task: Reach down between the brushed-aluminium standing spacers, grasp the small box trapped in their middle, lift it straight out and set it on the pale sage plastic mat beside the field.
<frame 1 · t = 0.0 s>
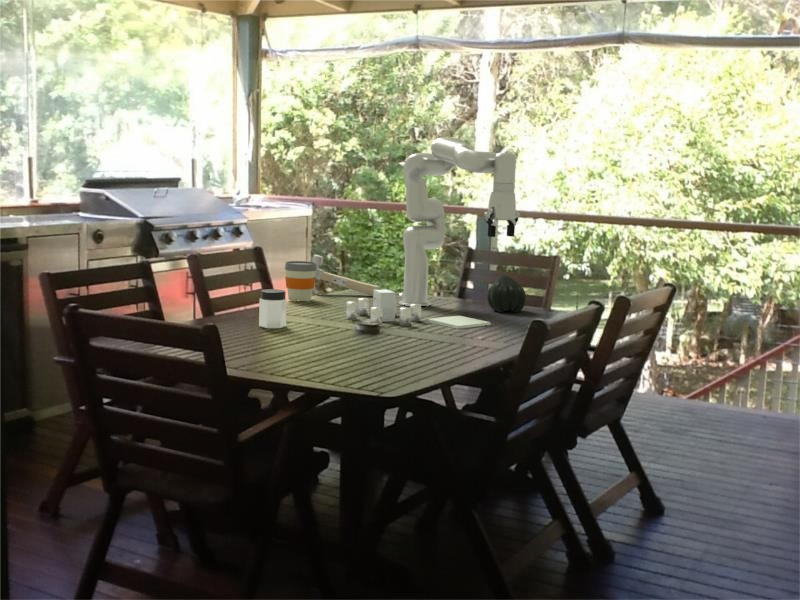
hand: (501, 236, 324), 31 cm above the table, tool pointing down, fingers open, 9 cm apart
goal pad: (458, 323, 323), on the table
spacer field: (383, 319, 324), on the table
reusable coffee cup: (299, 300, 363), on the table
small box: (383, 320, 324), on the table
hammer: (342, 295, 382), on the table
squash: (505, 311, 356), on the table
jar: (272, 326, 302), on the table
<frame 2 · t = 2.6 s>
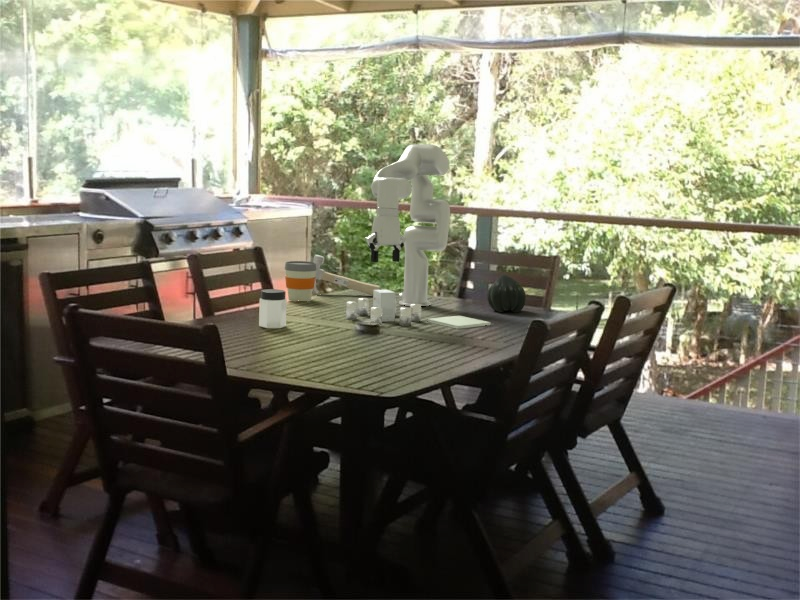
hand: (385, 261, 320), 21 cm above the table, tool pointing down, fingers open, 9 cm apart
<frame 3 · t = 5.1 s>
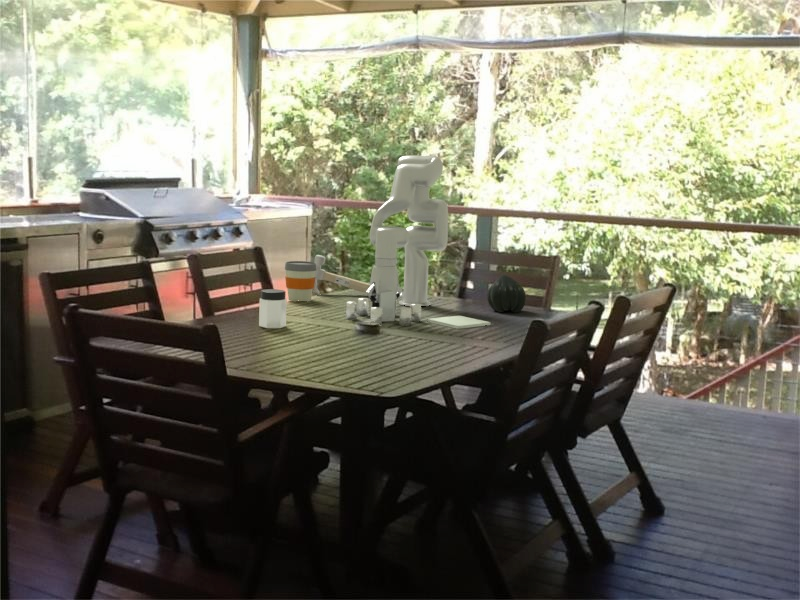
hand: (383, 312, 324), 3 cm above the table, tool pointing down, fingers closed on small box, 6 cm apart
small box: (383, 320, 324), on the table, touching gripper
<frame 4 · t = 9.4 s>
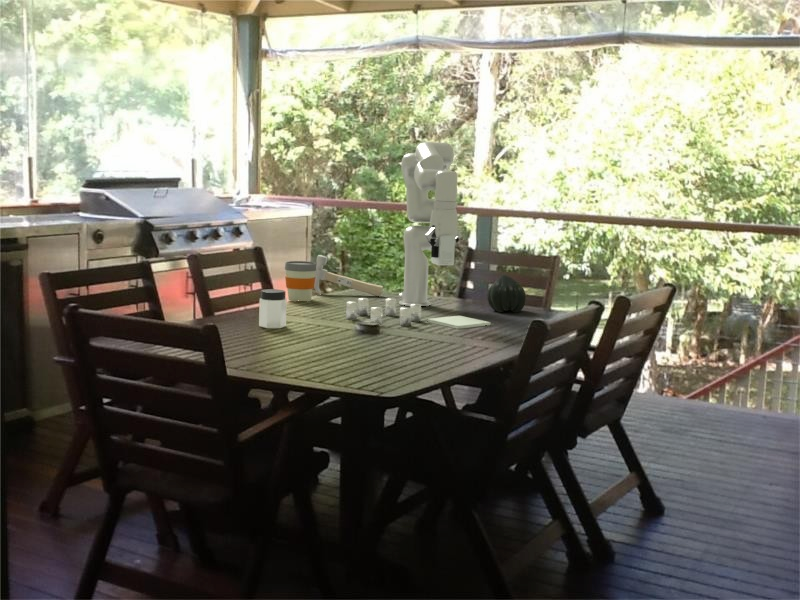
hand: (442, 256, 320), 24 cm above the table, tool pointing down, fingers closed on small box, 6 cm apart
small box: (442, 265, 320), point 21 cm above the table, touching gripper
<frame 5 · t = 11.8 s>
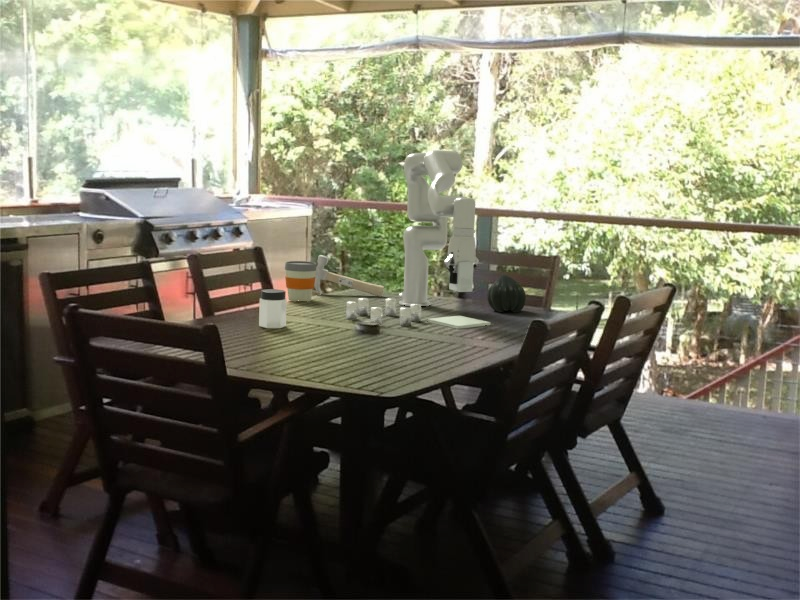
hand: (460, 282, 321), 15 cm above the table, tool pointing down, fingers closed on small box, 6 cm apart
small box: (460, 291, 321), point 12 cm above the table, touching gripper
when the fingers open (5 cm above the table, at t = 14.1 s): small box drops 1 cm, resting on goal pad.
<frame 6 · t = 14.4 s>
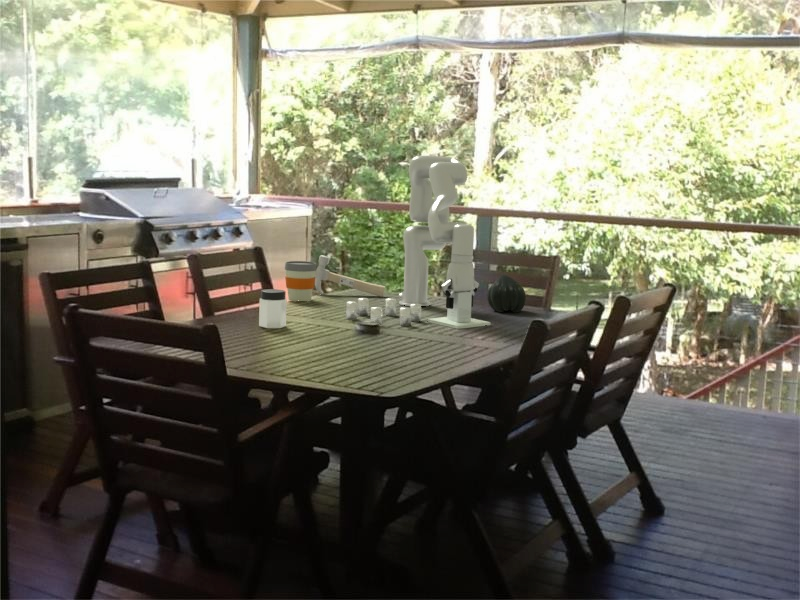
hand: (459, 307, 322), 6 cm above the table, tool pointing down, fingers open, 9 cm apart
small box: (458, 321, 323), point 1 cm above the table, touching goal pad
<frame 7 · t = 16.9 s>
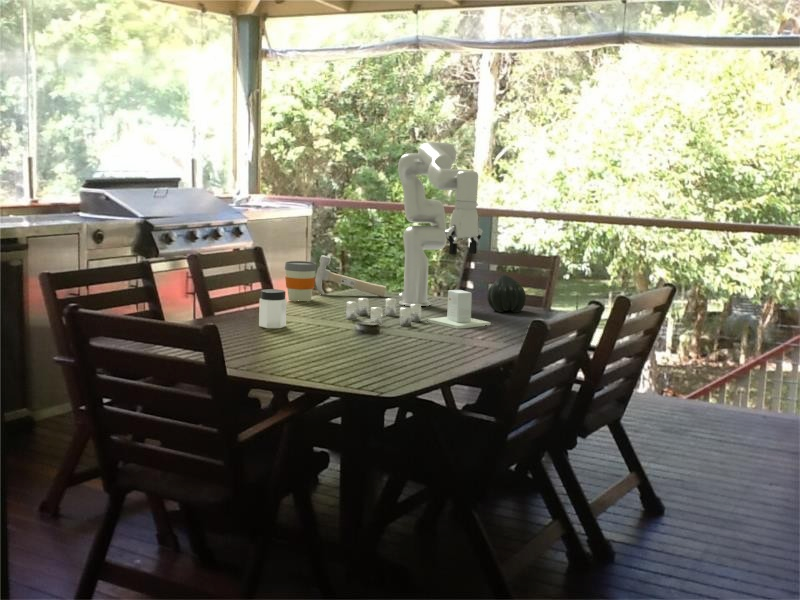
hand: (462, 253, 324), 25 cm above the table, tool pointing down, fingers open, 9 cm apart
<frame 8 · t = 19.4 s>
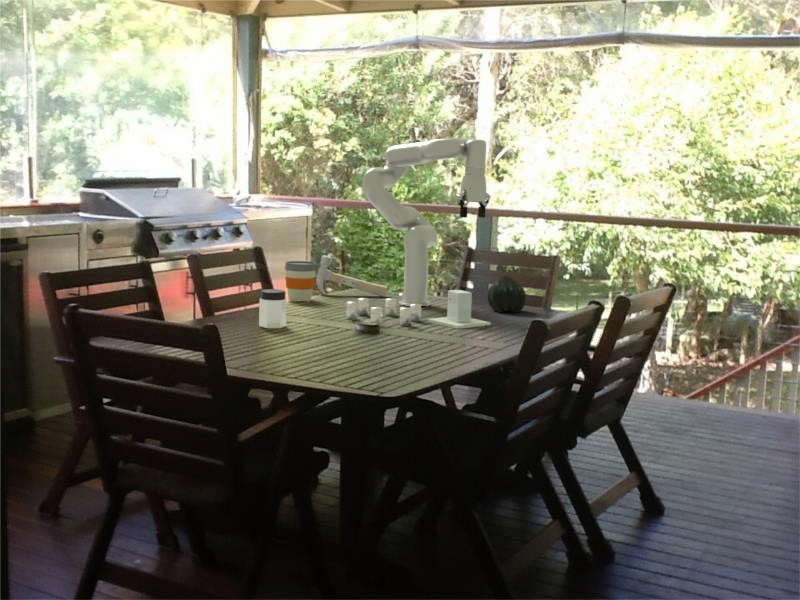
hand: (472, 217, 348), 36 cm above the table, tool pointing down, fingers open, 9 cm apart
at the end: small box inside the target area on the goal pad (0.1 cm from its centre), point 0.8 cm above the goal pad's base; small box tilted 0°; the gripper is holding nothing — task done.
